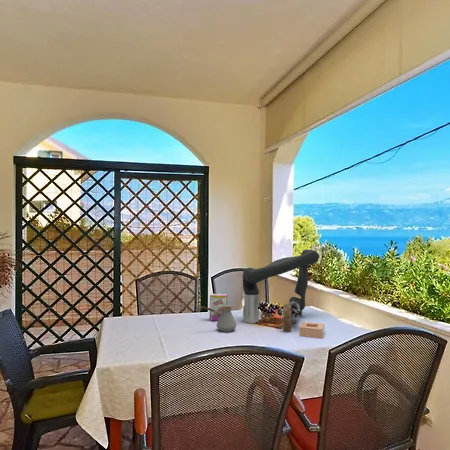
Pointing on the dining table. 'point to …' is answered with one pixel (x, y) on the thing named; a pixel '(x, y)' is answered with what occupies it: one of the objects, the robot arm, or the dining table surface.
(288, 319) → the walnut peg
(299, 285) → the robot arm
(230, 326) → the coffee pot
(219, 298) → the candy bar box
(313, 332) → the socket block
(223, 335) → the dining table surface
